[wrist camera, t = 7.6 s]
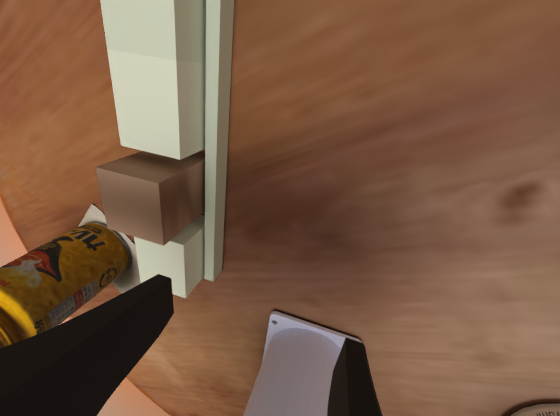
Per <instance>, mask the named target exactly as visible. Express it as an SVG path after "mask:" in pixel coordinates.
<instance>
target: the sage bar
mask: <svg viewBox="0 0 560 416" xmlns="http://www.w3.org/2000/svg"><path fill="white" fill-rule="evenodd" d="M100 2H101V9H102V16H103V23H104V30H105V37H106V44H107V51H108V58H109V65H110V72H111V79H112V86H113V93H114V100H115V107H116V114H117V121H118V128H119V135H120V142H121V146H125V147H129V148H134V149H138V150H142V151H146V152H150V153H154V154H158V155H162V156H166V157H171V158H175V159H179V160H181V159H183V158H185V157H188V156H190V155H192V154H194V153H197V152H199V151H201V150H203V149H205V216H203V215H200V216H199V217H198V218H197V219H195V220H194V221H193V222H192V223H191V224H189V225H188V226H187V227H186V228H185V229H183V230H182V231H181V232H180V233H179V234H177V235H176V236H175V237H174V238H173V239H171V240H170V241H169V242H168V243H167V244H165V245H164V246H163V245H160V244H156V243H153V242H150V241H147V240H143V239H140V238H137V237H134V240H135V247H136V254H137V261H138V268H139V275H140V282H141V283H143V282H144V281H146V280H148V279H150V278H152V277H154V276H156V275H158V274H160V275H163V276H166V277H169V278H171V280H172V294H174V295H177V296H180V297H183V298H186V297H187V296H188V295H189V294H190V293H191V291H192V290H193V289H194V288H195V286H196V285H197V284H198V283H199V282H200V280H201V279H202V278H203V277H204V275H205V279H207V280H210V281H214V280H215V279H216V277H217V276H218V275H219V273H220V272H221V271H222V262H223V240H224V218H225V196H226V174H227V152H228V130H229V108H230V86H231V64H232V41H233V19H234V0H100Z"/></svg>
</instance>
